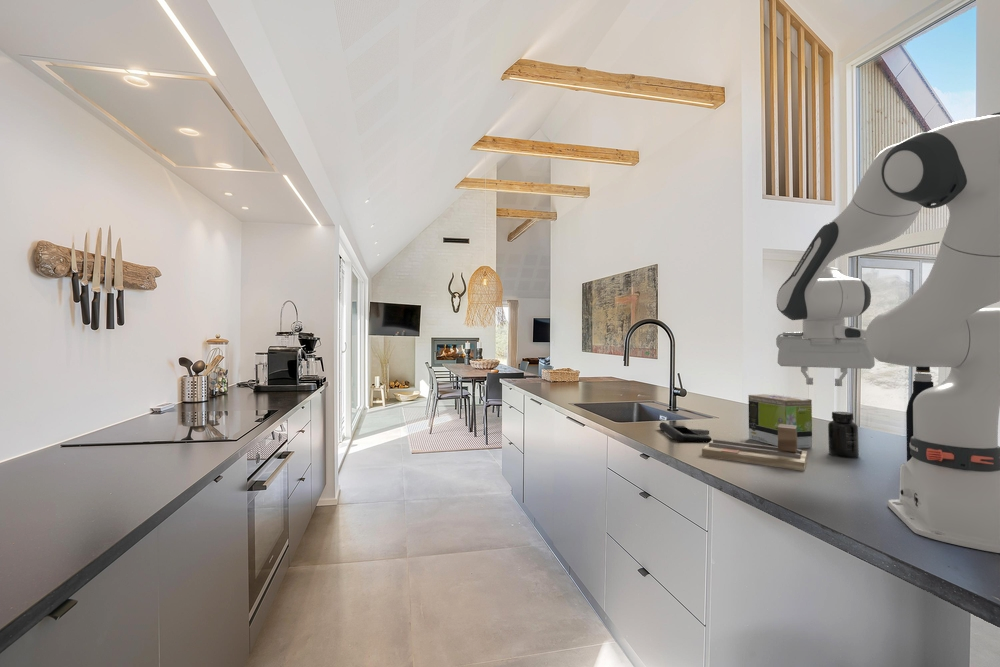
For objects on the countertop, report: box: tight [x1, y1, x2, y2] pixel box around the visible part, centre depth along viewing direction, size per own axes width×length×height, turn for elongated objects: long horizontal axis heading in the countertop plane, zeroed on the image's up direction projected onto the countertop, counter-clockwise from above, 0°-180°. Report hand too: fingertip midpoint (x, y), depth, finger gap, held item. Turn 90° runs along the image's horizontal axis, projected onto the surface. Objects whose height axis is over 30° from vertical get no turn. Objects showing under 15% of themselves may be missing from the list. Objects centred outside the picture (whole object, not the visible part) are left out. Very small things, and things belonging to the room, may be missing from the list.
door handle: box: [657, 421, 713, 444], centre depth 151 cm, size 3×20×16 cm
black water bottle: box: [905, 367, 934, 462], centre depth 112 cm, size 6×6×30 cm
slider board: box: [701, 438, 808, 472], centre depth 125 cm, size 14×24×3 cm, turn 53°
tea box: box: [748, 393, 813, 449], centre depth 141 cm, size 15×10×15 cm
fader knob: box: [777, 424, 798, 453], centre depth 120 cm, size 5×4×7 cm
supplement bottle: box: [827, 411, 860, 459], centre depth 126 cm, size 7×7×12 cm
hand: (823, 385), depth 115 cm, fingers open, 5 cm apart
